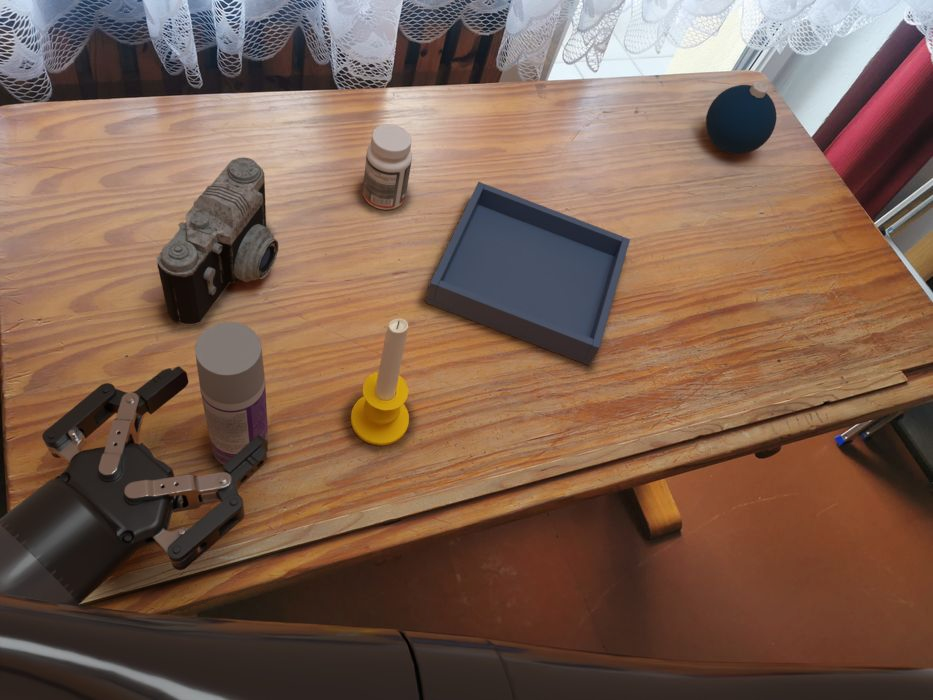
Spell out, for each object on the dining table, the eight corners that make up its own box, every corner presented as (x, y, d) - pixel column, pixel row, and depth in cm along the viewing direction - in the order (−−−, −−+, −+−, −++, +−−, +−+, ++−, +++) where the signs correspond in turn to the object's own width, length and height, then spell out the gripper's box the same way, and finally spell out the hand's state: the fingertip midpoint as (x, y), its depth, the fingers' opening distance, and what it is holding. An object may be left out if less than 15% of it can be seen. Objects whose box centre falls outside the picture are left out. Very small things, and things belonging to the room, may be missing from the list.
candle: (338, 419, 69) (349, 319, 57) (378, 384, 72) (397, 281, 59) (381, 457, 68) (402, 363, 55) (420, 420, 71) (448, 322, 58)
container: (249, 410, 68) (240, 310, 56) (279, 450, 67) (276, 356, 54) (200, 437, 66) (180, 339, 54) (230, 479, 64) (215, 388, 52)
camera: (225, 343, 71) (217, 276, 63) (159, 315, 72) (142, 244, 63) (299, 237, 80) (301, 165, 72) (239, 212, 80) (234, 138, 72)
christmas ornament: (742, 124, 105) (781, 61, 96) (765, 169, 100) (807, 107, 92) (686, 121, 103) (720, 57, 94) (706, 167, 98) (744, 103, 90)
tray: (619, 258, 87) (630, 238, 84) (588, 366, 78) (599, 348, 75) (472, 202, 87) (478, 181, 84) (425, 302, 78) (430, 282, 76)
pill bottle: (388, 173, 87) (396, 114, 80) (414, 200, 86) (424, 143, 79) (353, 189, 85) (359, 129, 78) (379, 217, 83) (387, 159, 76)
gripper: (96, 624, 46) (292, 442, 55) (-58, 475, 49) (151, 325, 58) (119, 653, 52) (292, 485, 61) (-19, 519, 55) (164, 377, 64)
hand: (223, 407), depth 59 cm, fingers open, 8 cm apart
